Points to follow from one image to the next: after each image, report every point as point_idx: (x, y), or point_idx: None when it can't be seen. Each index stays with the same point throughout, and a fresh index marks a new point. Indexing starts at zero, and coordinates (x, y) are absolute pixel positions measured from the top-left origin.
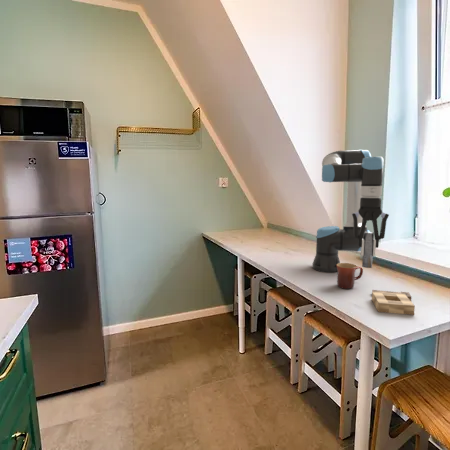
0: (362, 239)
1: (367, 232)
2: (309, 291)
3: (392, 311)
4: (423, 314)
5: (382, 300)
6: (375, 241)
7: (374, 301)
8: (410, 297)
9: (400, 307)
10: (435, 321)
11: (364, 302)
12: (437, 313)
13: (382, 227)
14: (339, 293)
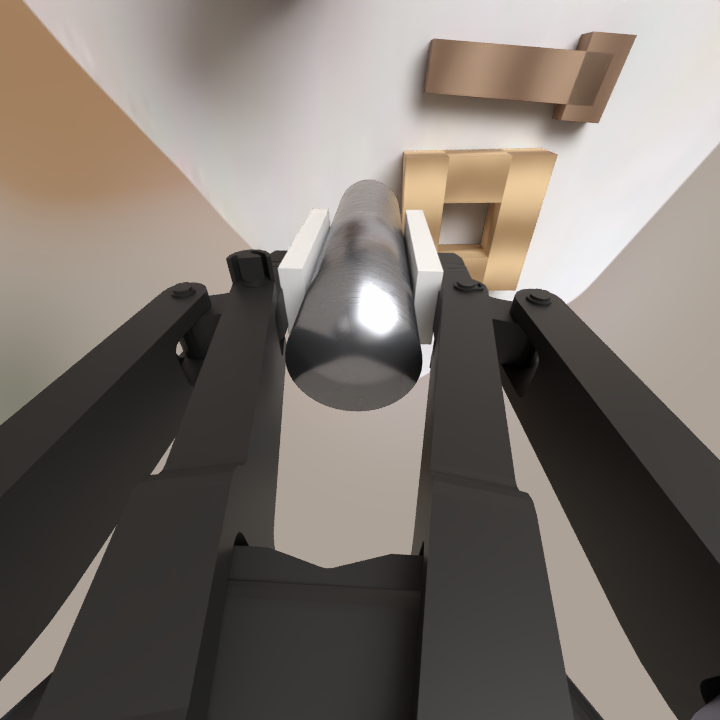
0: (291, 323)
1: (336, 353)
2: (116, 98)
3: None
4: (540, 265)
5: None
6: (424, 337)
7: (401, 213)
8: (592, 122)
9: None
10: None
11: None
12: (599, 246)
13: (553, 479)
14: (260, 90)
